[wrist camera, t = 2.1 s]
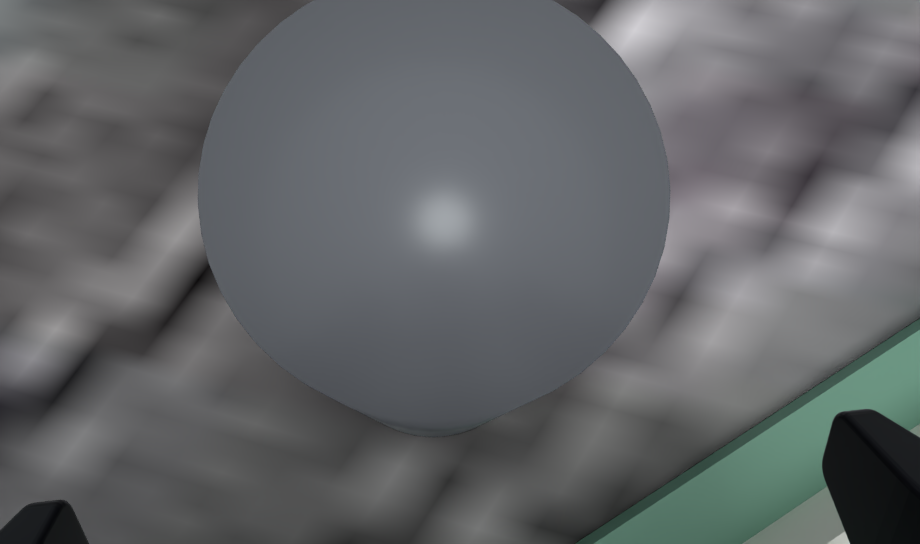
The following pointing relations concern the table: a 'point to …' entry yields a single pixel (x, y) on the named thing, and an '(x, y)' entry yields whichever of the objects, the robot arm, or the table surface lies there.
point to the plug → (434, 203)
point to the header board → (777, 465)
